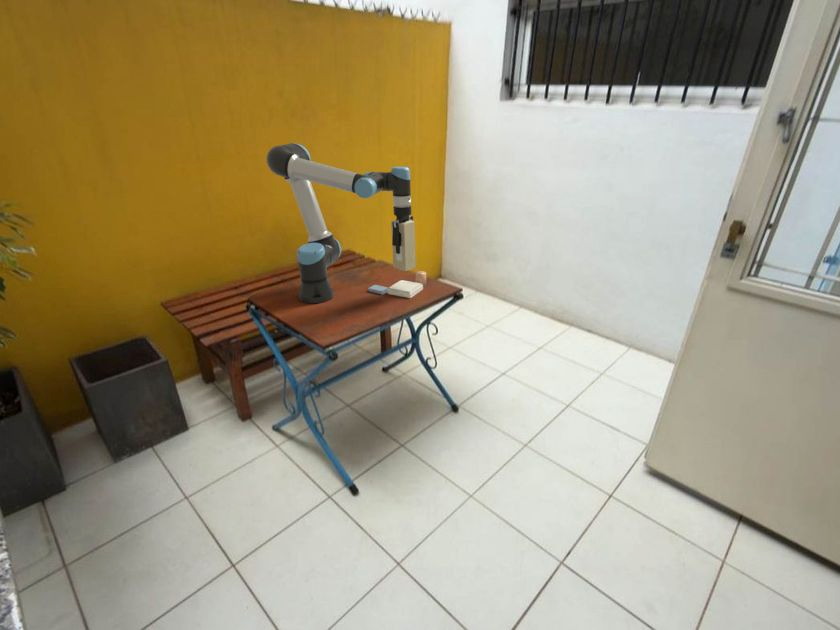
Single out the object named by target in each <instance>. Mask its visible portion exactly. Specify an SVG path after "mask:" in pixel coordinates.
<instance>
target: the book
mask: <svg viewBox="0 0 840 630" xmlns="http://www.w3.org/2000/svg"><path fill="white" fill-rule="evenodd" d="M367 289H368V292H370V293H375V294H379V295H384V294H386V293H387V290H388V289H389V287H387V286H382V285H378V284H373V285H372V286H370V287H368V288H367Z"/></svg>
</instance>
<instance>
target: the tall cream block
mask: <svg viewBox="0 0 840 630" xmlns="http://www.w3.org/2000/svg"><path fill="white" fill-rule="evenodd" d="M392 222H396V219H395V220H392V221H391V223H390V225H391V238H392V237H393V226H392ZM415 227H416V226H415V220H413V221H411V220H409V221H406V222H405V223H400V224H399V232H400V233H401V240H402V241H401V246H402V258H403V260H402V261H399V260H396V246H393V245H392V244H391V245H392V248H391V249H392V265H393V268H394V269H397V270H400V271H402V272H403V271H404V272H407V271H410V270H413V269H415V268H416V267H417V265H416V236H415V235H416V234H415V232H416V229H415Z"/></svg>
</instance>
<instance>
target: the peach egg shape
mask: <svg viewBox="0 0 840 630" xmlns="http://www.w3.org/2000/svg"><path fill="white" fill-rule="evenodd" d="M415 283H421V284H422V285H423V287H426V286H427V272H426V271H423V270H418V271H416V272H415Z"/></svg>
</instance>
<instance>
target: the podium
mask: <svg viewBox="0 0 840 630" xmlns="http://www.w3.org/2000/svg"><path fill="white" fill-rule="evenodd" d="M388 288H389V289H388V290H387V292H386V293H387V295H390V296H391V295H392V296H396V297H402V298H407V299H412V297H414V296H416V295H418V293H420V292H421V291H423V289H424V286H423V285H422V284H421V283H416V281H415V282H414V281H409V280H403V279H401V280H399V281H397V282H395V283H394V284H392V285H391V286H389V287H388Z"/></svg>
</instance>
